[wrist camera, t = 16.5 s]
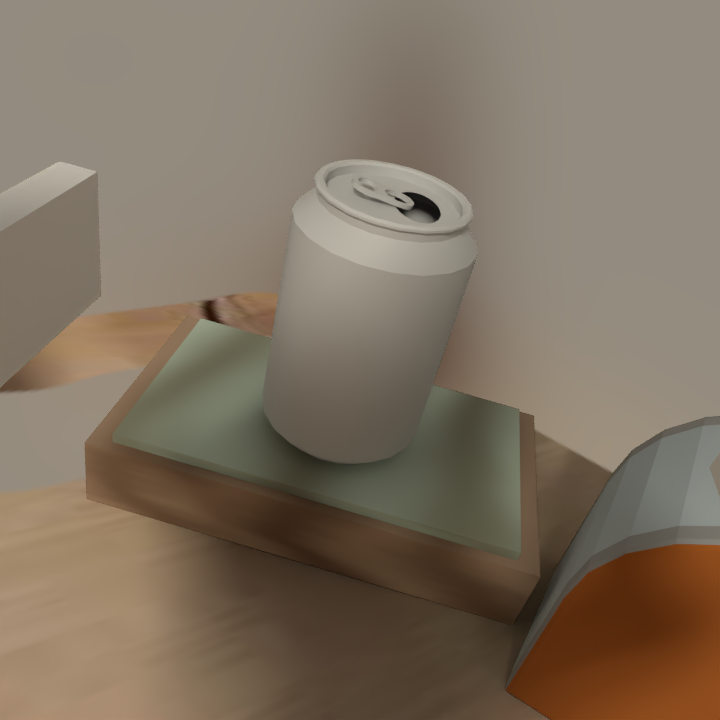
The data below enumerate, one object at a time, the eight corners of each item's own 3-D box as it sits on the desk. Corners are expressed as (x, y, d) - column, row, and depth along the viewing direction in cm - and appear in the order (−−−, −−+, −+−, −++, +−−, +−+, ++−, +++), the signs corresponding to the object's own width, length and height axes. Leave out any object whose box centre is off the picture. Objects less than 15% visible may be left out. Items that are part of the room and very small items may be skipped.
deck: (512, 461, 39) (537, 408, 37) (512, 625, 30) (544, 569, 28) (183, 366, 40) (187, 309, 38) (86, 498, 31) (84, 434, 29)
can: (420, 487, 30) (509, 248, 23) (251, 465, 29) (293, 207, 22) (406, 384, 36) (474, 169, 29) (266, 362, 35) (303, 135, 28)
